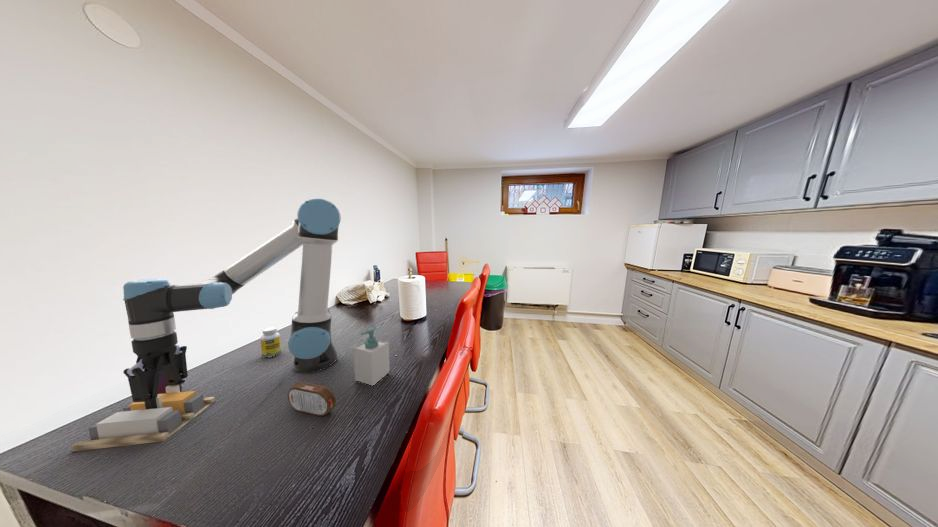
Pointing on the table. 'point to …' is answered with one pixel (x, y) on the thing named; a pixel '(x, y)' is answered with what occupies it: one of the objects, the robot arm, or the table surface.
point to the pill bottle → (270, 342)
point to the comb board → (138, 438)
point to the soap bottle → (371, 359)
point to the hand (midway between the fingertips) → (166, 412)
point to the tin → (311, 398)
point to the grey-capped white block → (136, 423)
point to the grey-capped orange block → (175, 402)
